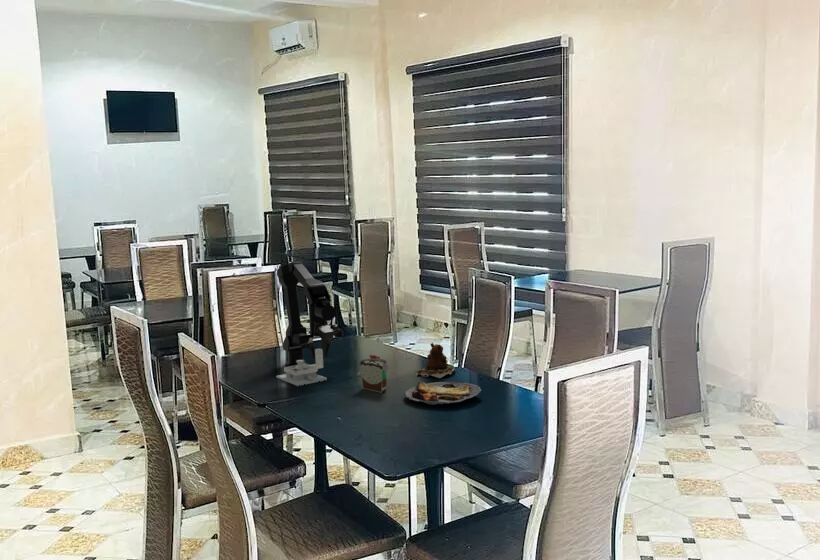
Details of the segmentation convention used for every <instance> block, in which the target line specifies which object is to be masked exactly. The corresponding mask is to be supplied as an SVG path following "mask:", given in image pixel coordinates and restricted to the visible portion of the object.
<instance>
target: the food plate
mask: <svg viewBox="0 0 820 560" xmlns="http://www.w3.org/2000/svg"><path fill="white" fill-rule="evenodd" d="M481 391H482V389H481V387H480V386H478V385H476V384H474V383H473V384H472V383H468V382H464V381H443V382H442V381H438V382H437V381H436V382H428V383H426V382H424V381H418V383H417V385H414V386H411V387H410V388H408V389H406V390H405V391H404V392H403V396H404V398H406V399H408V401H414V402H422V403H425V404H427V405H431V406H434V405H443V404H453V403H460V402H463V401H465V400H467V399H471V398H473V397H475V396H477V395H478V394H480V393H481Z"/></svg>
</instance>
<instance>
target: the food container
mask: <svg viewBox="0 0 820 560" xmlns="http://www.w3.org/2000/svg"><path fill="white" fill-rule="evenodd" d="M358 366H359V367H360V368H359V369H360V370H361V373H360V377H361V384H362V389H363V390H368V391H372V392H376V393H382V394H383V393H384V392H386V391H387V383H388V382H387V380H388V370H389V368H390V365H389V362H388V361H387V360H386V359H383V358H380V359H376V358H372V359H370V358H364V359H363V358H362V359H359V361H358Z"/></svg>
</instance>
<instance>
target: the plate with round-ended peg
mask: <svg viewBox="0 0 820 560" xmlns="http://www.w3.org/2000/svg"><path fill="white" fill-rule="evenodd" d="M296 362H297V363H298V369H303V362H305V360H304V359H303V360H297V361H296ZM275 378H277V379H279V380H282V381H284V382H286V383H289V384H292V385H294V386H296V387H300V386H304V384H305V385H309V384H310V385H311V384H313V383H314V384H315V383H319V381H320V382H324V380H325V381H327V377H326V376H323V375H320V374H318V373H317V372H312V373H307V374H302V375H297V376H295V375H293V374H290V373H287V372H285V374H280V375H278V374H277V375H276V377H275ZM299 385H300V386H299Z"/></svg>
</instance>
